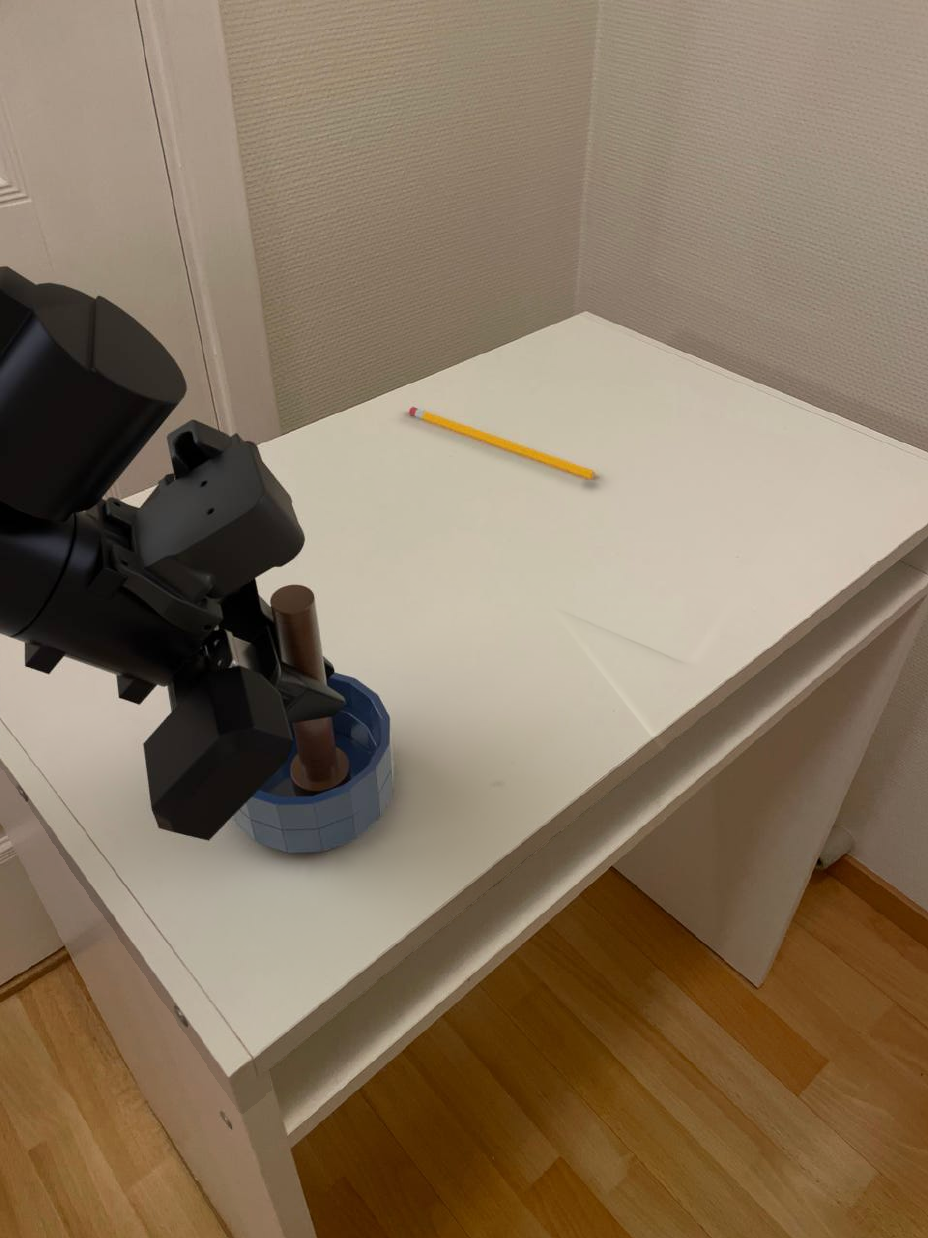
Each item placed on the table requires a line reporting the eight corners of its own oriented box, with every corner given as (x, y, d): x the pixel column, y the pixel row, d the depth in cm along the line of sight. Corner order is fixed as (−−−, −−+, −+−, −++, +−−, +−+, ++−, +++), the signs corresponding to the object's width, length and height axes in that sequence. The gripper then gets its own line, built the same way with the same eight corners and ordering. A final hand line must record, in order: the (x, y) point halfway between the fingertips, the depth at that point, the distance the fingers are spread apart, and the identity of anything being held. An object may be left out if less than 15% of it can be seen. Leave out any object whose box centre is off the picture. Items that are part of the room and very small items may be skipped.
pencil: (413, 412, 85) (413, 405, 84) (594, 476, 78) (595, 469, 77) (408, 416, 84) (408, 409, 84) (589, 481, 77) (590, 474, 77)
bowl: (256, 884, 50) (241, 830, 46) (211, 757, 56) (196, 700, 53) (419, 822, 53) (416, 766, 49) (360, 707, 59) (354, 651, 56)
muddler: (282, 796, 51) (243, 611, 42) (310, 753, 54) (279, 568, 44) (334, 815, 51) (306, 630, 41) (361, 770, 53) (340, 585, 43)
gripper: (183, 574, 28) (511, 723, 39) (131, 312, 41) (387, 476, 51) (-7, 800, 32) (340, 882, 42) (0, 494, 45) (264, 613, 55)
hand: (334, 691), depth 48 cm, fingers closed on muddler, 2 cm apart
